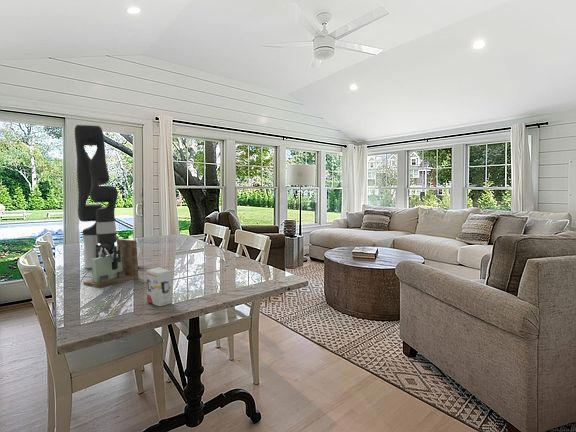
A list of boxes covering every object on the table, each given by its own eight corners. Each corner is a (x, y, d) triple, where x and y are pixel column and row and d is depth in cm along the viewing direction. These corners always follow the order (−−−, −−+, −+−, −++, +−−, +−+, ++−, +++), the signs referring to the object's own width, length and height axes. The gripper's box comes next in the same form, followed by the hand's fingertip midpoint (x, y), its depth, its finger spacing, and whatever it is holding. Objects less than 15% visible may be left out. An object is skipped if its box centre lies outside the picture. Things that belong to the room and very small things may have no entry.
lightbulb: (135, 267, 175) (134, 246, 174) (125, 267, 176) (123, 246, 175) (143, 264, 181) (142, 244, 180) (132, 264, 182) (131, 244, 181)
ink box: (146, 302, 122) (144, 269, 121) (159, 298, 126) (158, 267, 125) (159, 307, 116) (157, 273, 115) (172, 303, 120) (171, 270, 119)
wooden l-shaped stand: (83, 284, 146) (80, 244, 144) (122, 274, 162) (119, 238, 160) (100, 288, 140) (97, 246, 138) (138, 277, 156) (136, 240, 154)
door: (93, 282, 145) (91, 259, 144) (119, 275, 155) (118, 253, 154) (98, 283, 143) (96, 259, 142) (124, 276, 153) (122, 254, 152)
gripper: (124, 231, 148) (126, 268, 149) (104, 230, 155) (107, 265, 156) (108, 233, 141) (110, 272, 143) (88, 232, 148) (90, 268, 150)
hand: (108, 268), depth 149 cm, fingers open, 8 cm apart
